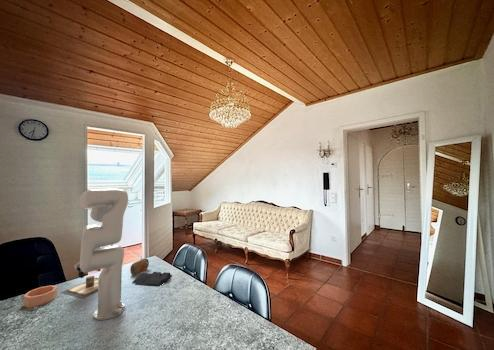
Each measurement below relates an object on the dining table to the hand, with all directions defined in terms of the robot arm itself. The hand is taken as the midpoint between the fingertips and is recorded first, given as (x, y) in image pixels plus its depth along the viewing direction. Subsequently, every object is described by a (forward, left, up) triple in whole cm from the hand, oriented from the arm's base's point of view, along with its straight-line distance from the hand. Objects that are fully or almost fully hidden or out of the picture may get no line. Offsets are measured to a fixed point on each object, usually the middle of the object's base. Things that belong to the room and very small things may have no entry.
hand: (89, 273), depth 126 cm
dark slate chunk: (-29, -20, -9) cm, 36 cm away
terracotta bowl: (+10, +18, -8) cm, 22 cm away
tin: (-11, -27, -9) cm, 30 cm away
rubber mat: (-1, 0, -8) cm, 8 cm away
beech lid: (-1, 0, -8) cm, 8 cm away
